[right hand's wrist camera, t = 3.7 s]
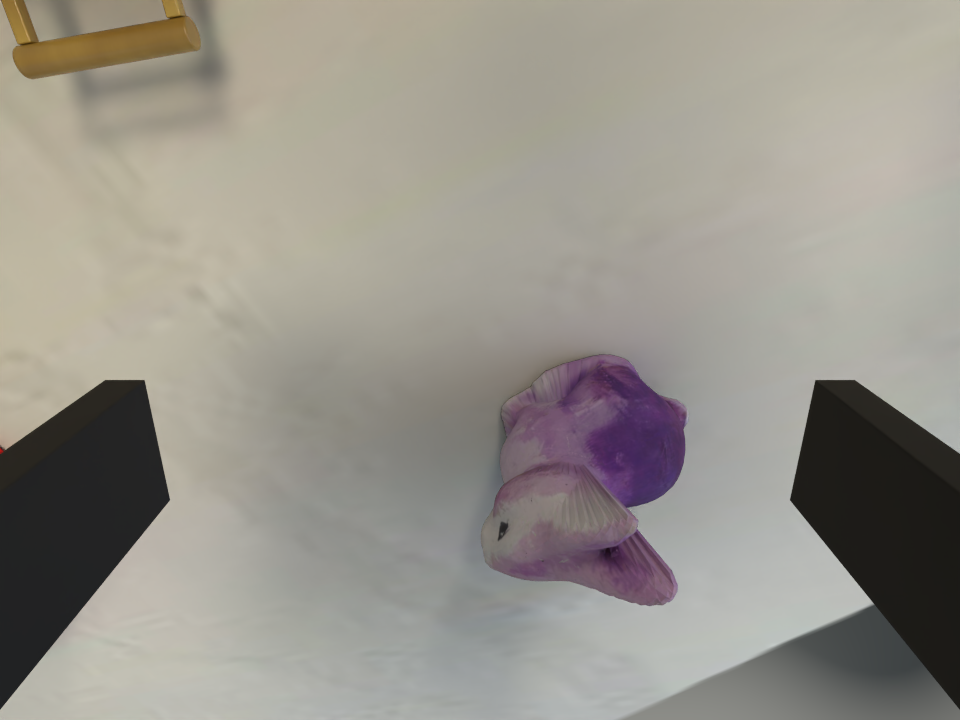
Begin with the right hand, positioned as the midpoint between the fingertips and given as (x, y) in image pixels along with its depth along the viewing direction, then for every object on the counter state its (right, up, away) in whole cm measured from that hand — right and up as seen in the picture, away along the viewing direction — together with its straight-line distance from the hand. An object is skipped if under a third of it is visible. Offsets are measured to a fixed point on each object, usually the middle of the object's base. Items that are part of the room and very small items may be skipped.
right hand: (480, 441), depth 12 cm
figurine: (+6, -2, +26) cm, 27 cm away
